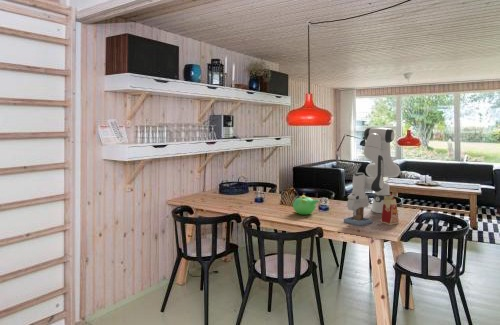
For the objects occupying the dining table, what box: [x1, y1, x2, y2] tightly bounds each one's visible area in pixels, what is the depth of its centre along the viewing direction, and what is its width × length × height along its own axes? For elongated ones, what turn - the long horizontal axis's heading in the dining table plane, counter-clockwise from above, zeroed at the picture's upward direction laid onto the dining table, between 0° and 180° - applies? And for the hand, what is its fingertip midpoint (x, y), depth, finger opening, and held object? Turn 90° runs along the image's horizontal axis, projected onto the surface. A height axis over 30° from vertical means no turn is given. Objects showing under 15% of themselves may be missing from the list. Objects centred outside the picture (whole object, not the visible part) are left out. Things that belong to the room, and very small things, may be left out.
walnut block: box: [352, 207, 365, 221], centre depth 258 cm, size 5×5×9 cm
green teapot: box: [292, 194, 320, 215], centre depth 283 cm, size 18×17×15 cm
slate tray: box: [343, 216, 373, 227], centre depth 258 cm, size 14×14×2 cm
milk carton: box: [381, 194, 400, 226], centre depth 256 cm, size 9×9×20 cm
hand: (358, 214), depth 258 cm, fingers closed on walnut block, 5 cm apart
